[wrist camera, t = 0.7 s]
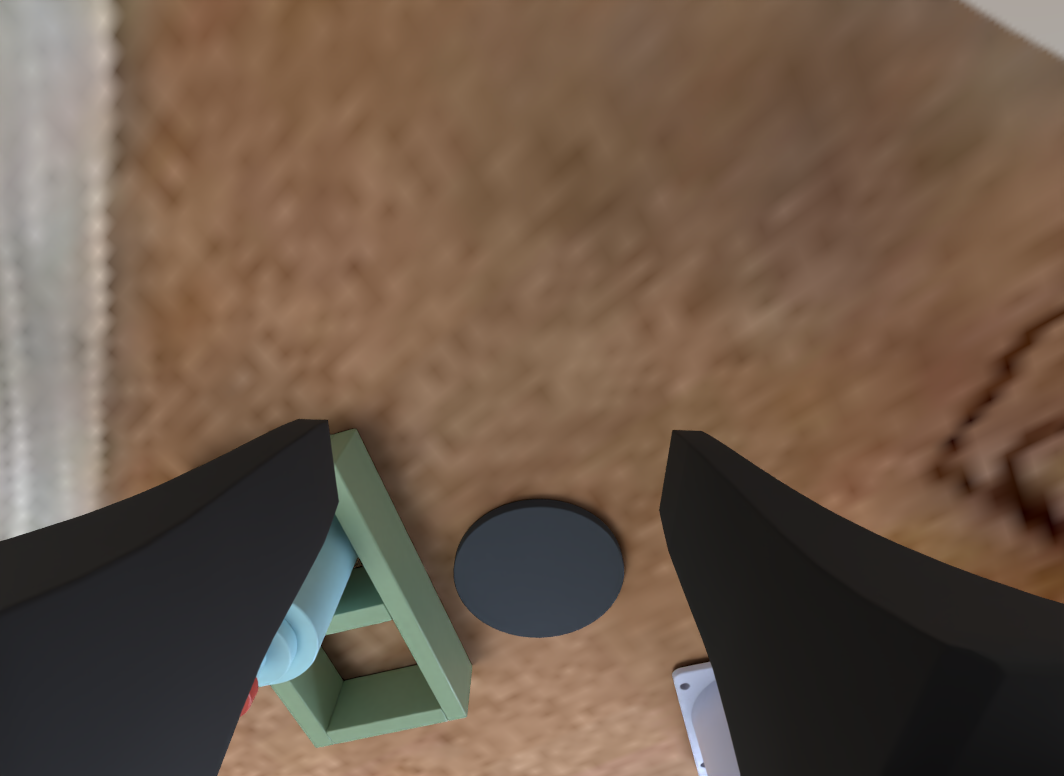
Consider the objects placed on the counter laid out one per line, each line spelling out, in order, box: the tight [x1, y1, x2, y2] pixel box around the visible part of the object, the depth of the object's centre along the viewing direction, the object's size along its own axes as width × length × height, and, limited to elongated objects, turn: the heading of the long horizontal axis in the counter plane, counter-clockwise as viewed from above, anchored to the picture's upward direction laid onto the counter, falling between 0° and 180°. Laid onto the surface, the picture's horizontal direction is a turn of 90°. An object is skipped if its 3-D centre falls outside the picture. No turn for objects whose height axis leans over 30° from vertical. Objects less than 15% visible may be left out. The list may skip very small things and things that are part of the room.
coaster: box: [454, 499, 624, 638], centre depth 25 cm, size 8×8×1 cm
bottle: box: [240, 515, 358, 716], centre depth 20 cm, size 5×5×8 cm
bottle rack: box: [270, 429, 472, 748], centre depth 24 cm, size 8×15×3 cm, turn 16°
